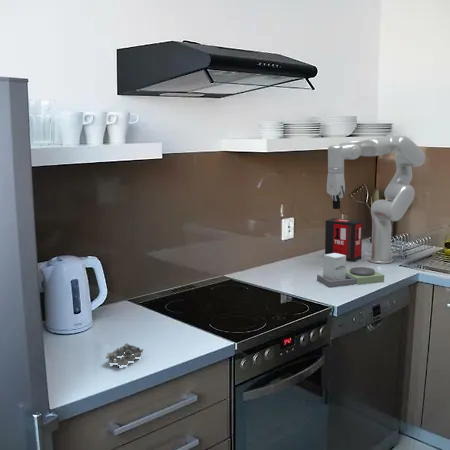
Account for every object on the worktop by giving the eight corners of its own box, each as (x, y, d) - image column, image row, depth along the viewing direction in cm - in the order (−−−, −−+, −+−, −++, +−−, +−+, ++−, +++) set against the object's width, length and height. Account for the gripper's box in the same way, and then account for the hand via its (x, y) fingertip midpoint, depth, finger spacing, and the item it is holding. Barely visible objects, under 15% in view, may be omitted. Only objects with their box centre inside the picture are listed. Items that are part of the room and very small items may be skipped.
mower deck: (367, 273, 263) (367, 265, 262) (384, 281, 250) (384, 272, 249) (315, 279, 255) (315, 270, 254) (330, 287, 242) (330, 278, 241)
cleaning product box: (361, 258, 292) (362, 221, 288) (354, 262, 285) (355, 223, 281) (332, 254, 301) (333, 218, 298) (324, 257, 294) (325, 220, 291)
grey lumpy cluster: (122, 371, 164) (122, 358, 163) (103, 365, 168) (103, 353, 167) (145, 358, 173) (145, 345, 172) (127, 353, 177) (126, 340, 176)
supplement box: (333, 285, 245) (334, 257, 243) (322, 281, 251) (322, 254, 249) (345, 282, 249) (346, 255, 247) (334, 278, 255) (334, 252, 253)
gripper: (321, 170, 272) (322, 207, 276) (337, 173, 258) (337, 211, 262) (335, 169, 274) (335, 205, 278) (351, 171, 261) (351, 210, 264)
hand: (336, 208), depth 270 cm, fingers closed
